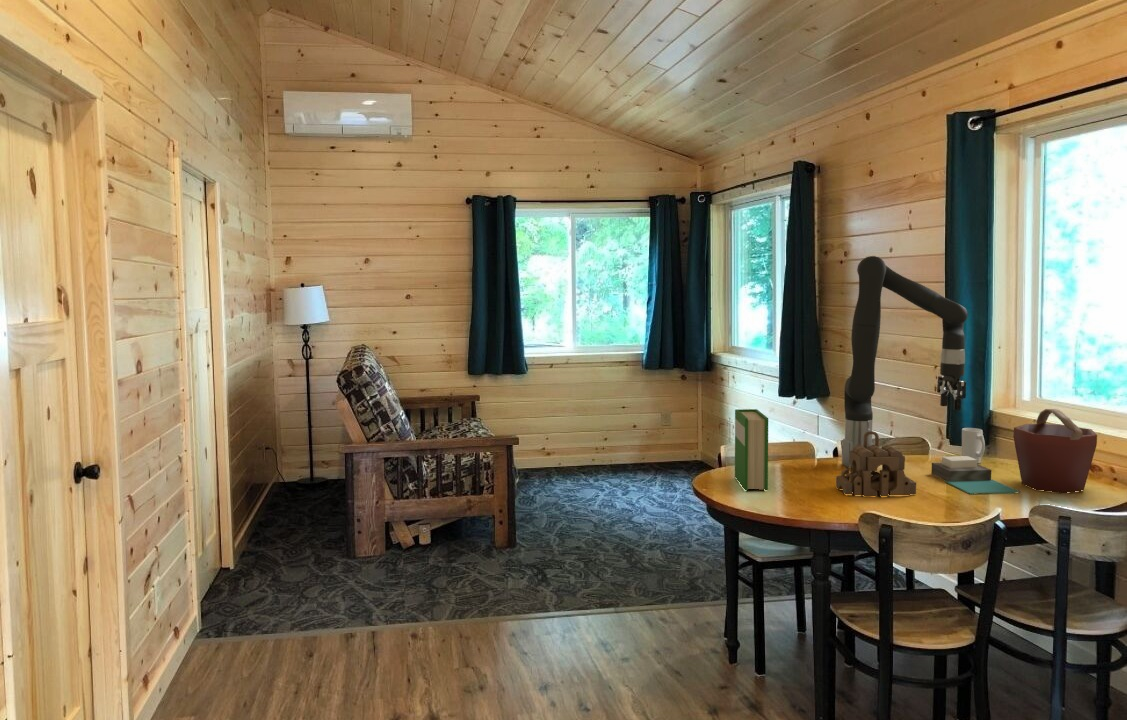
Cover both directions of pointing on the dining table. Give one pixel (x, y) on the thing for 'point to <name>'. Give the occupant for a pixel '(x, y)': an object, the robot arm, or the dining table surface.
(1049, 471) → the bucket
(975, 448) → the mug
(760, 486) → the hardback book
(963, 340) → the robot arm
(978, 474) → the block
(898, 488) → the wooden puzzle
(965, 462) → the tile
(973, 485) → the mat
